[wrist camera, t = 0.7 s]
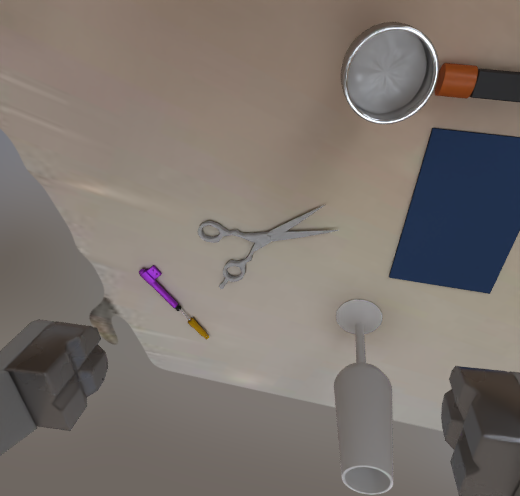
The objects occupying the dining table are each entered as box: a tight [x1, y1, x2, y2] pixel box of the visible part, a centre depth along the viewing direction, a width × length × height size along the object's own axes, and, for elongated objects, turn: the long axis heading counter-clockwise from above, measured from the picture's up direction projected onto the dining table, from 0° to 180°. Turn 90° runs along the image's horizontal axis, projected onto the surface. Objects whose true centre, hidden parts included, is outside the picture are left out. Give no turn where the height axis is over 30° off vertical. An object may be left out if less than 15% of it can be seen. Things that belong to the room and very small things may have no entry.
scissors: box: [198, 205, 338, 289], centre depth 53 cm, size 11×1×20 cm
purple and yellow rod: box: [139, 265, 209, 339], centre depth 62 cm, size 3×1×16 cm
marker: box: [435, 63, 520, 102], centre depth 38 cm, size 14×3×3 cm, turn 86°
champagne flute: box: [334, 299, 393, 495], centre depth 47 cm, size 7×7×24 cm
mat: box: [389, 128, 520, 294], centre depth 46 cm, size 20×13×1 cm, turn 176°
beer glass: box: [341, 22, 439, 124], centre depth 34 cm, size 7×7×15 cm
